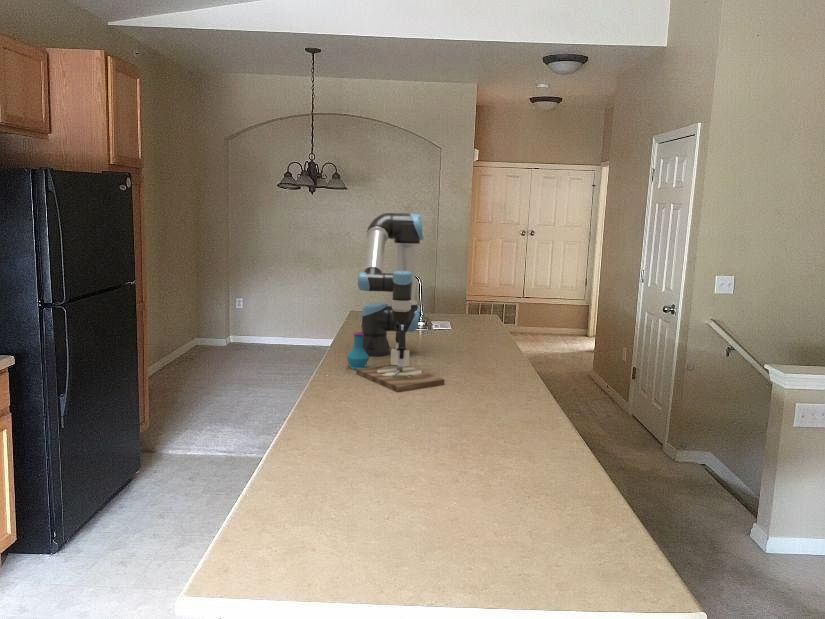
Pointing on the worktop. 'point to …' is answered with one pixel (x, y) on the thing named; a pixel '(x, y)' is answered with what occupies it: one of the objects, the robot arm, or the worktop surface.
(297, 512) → the worktop surface
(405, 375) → the tuner board
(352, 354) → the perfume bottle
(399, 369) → the beige block with bar
